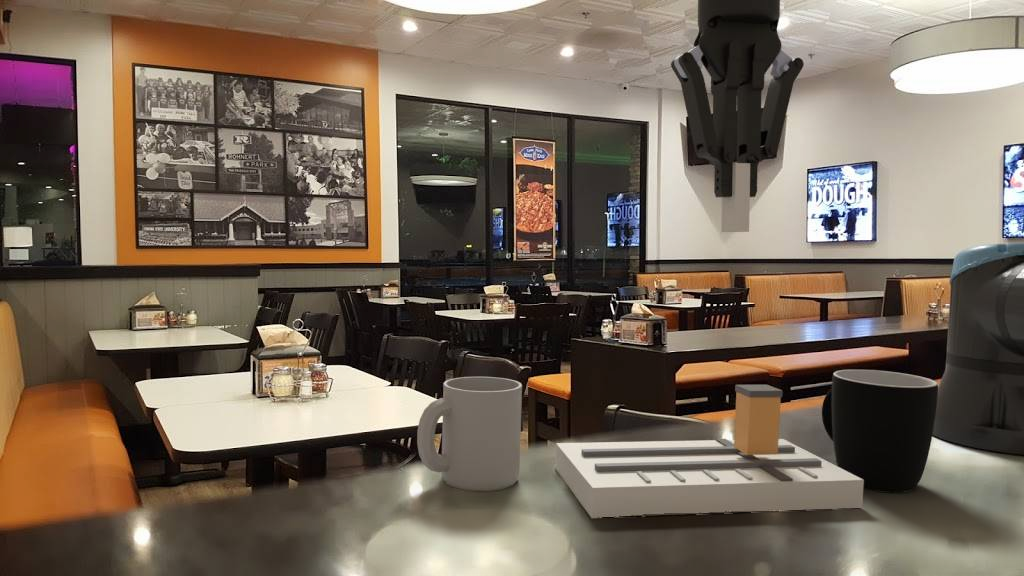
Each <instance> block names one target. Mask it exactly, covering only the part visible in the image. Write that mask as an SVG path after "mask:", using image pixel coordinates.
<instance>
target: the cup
mask: <svg viewBox="0 0 1024 576" xmlns="http://www.w3.org/2000/svg"><path fill="white" fill-rule="evenodd" d="M442 387H443V388H442V389H443V392H442V393H443V394H442V396H443V397H440V398H438V399H435V400H434V401H431V402H430V403H429V404H428V406H426V407H425V408H424V410H423V412H422V414H421V415H420V418H419V421H418V426H417V432H416V434H417V436H416V439H417V440H416V444H417V450H418V455H419V457H420V459H421V461H422V464H423V466H425V467H426V468H427V469H428V470H430V471H432V472H436V473H441V476H442V479H443V481H444V482H445V483H446V484H447V485H449V486H451V487H452V488H455V489H459V490H464V491H469V492H492V491H493V492H494V491H499V490H504V489H507V488H510V487H512V486H513V485H514V484H516V482H517V481H518V479H519V477H520V467H521V466H520V465H521V435H522V400H523V399H522V398H523V397H522V394H523V385H522V383H521V382H520V381H518V380H513V379H510V378H504V377H495V376H463V377H456V378H450V379H447V380H444V382H443V386H442ZM441 417H442V432H441V433H442V435H441V436H442V437H441V454H440V453H438V452H437V449H436V444H435V434H436V429H437V424H438V421H439V420H440V418H441Z"/></svg>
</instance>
